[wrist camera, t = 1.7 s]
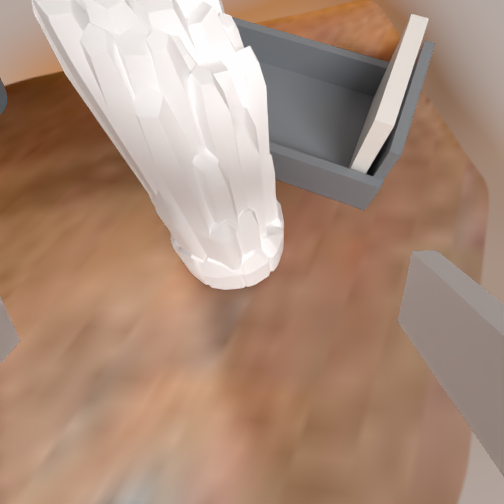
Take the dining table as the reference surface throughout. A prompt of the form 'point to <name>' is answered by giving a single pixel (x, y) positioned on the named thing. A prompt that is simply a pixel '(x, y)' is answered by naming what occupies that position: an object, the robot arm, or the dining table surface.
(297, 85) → the grey tray
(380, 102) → the plate
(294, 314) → the dining table surface
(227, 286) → the decorative vase
